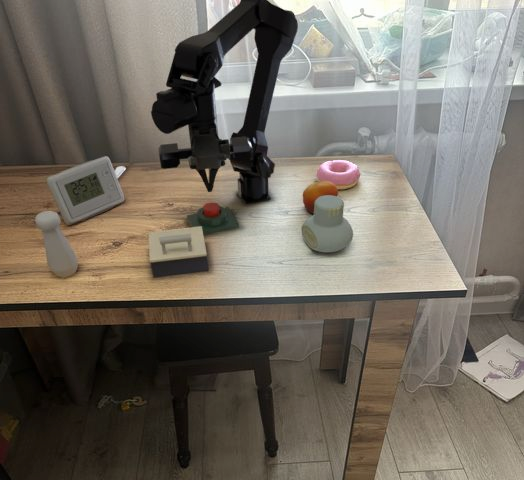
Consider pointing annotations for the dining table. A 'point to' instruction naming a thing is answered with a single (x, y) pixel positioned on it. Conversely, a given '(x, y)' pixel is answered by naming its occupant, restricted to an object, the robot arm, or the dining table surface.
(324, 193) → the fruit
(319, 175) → the doughnut
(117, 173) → the spoon
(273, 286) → the dining table surface
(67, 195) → the digital clock
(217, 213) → the alarm button
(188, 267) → the dark rimmed tray
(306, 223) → the air freshener
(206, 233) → the alarm box
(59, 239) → the salt shaker
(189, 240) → the beige panel
